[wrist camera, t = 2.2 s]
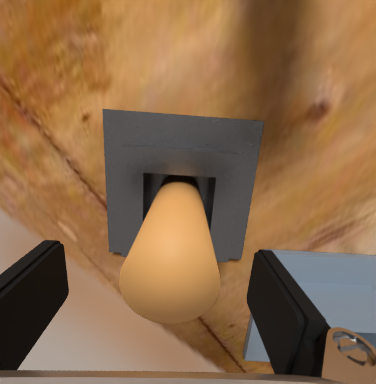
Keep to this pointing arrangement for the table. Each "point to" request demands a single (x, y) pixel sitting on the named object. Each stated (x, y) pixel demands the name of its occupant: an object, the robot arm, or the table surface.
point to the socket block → (329, 293)
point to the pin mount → (180, 171)
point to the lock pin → (172, 257)
